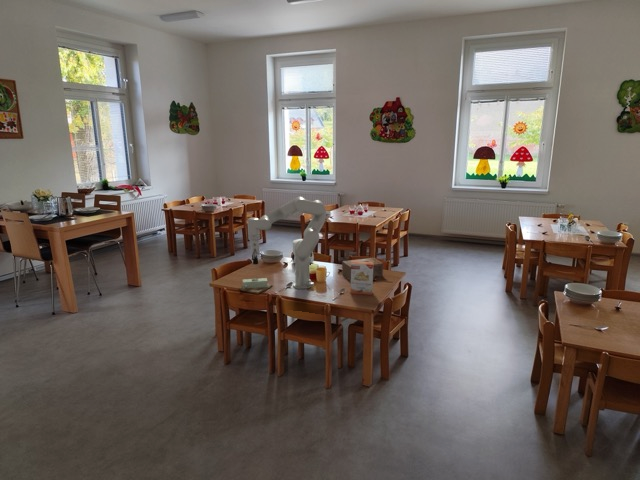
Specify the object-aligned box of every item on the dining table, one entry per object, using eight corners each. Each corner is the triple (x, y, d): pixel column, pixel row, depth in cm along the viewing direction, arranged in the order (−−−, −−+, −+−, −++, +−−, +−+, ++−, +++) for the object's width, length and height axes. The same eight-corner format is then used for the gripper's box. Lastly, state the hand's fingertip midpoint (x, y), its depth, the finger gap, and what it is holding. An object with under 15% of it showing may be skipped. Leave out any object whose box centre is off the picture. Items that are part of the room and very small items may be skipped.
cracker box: (350, 294, 273) (350, 263, 268) (351, 290, 279) (351, 260, 274) (372, 295, 271) (373, 264, 266) (372, 292, 277) (373, 261, 272)
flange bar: (266, 284, 287) (266, 278, 286) (267, 287, 281) (267, 280, 280) (242, 285, 284) (242, 279, 283) (243, 288, 279) (242, 282, 278)
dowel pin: (247, 288, 279) (247, 284, 278) (246, 289, 278) (246, 284, 277) (246, 288, 279) (246, 283, 278) (245, 288, 278) (244, 284, 277)
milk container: (296, 259, 346) (296, 237, 342) (316, 261, 341) (316, 239, 337) (288, 265, 331) (288, 243, 326) (309, 267, 325) (309, 245, 321)
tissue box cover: (373, 270, 321) (373, 257, 318) (382, 276, 307) (383, 263, 305) (342, 274, 312) (342, 261, 309) (350, 280, 299) (350, 267, 296)
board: (272, 286, 286) (272, 278, 285) (258, 294, 272) (257, 286, 271) (253, 282, 294) (253, 274, 292) (238, 289, 280) (238, 281, 279)
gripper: (260, 239, 267) (261, 265, 271) (258, 233, 283) (259, 257, 287) (248, 240, 265) (250, 266, 270) (247, 234, 282) (248, 258, 286)
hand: (255, 262), depth 278 cm, fingers open, 9 cm apart
